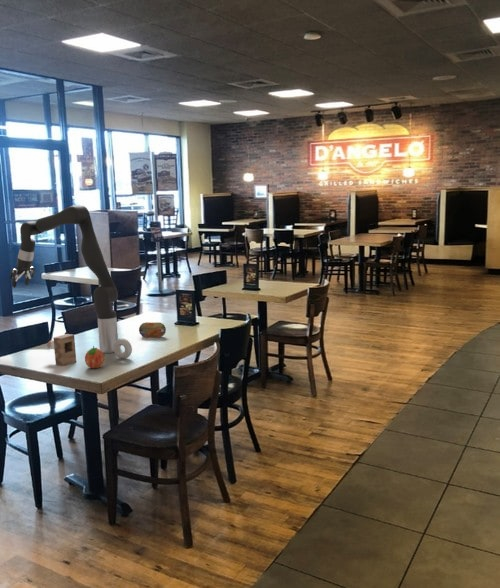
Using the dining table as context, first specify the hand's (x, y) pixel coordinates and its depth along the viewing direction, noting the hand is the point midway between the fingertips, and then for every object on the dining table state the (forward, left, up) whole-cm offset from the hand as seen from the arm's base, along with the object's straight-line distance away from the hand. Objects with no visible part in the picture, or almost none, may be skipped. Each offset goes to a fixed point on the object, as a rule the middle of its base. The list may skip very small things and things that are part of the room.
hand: (20, 285), depth 313 cm
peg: (-20, +49, -25) cm, 58 cm away
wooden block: (-23, +52, -31) cm, 65 cm away
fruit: (-37, +65, -32) cm, 81 cm away
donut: (-50, +54, -32) cm, 80 cm away
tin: (-68, +14, -32) cm, 76 cm away
